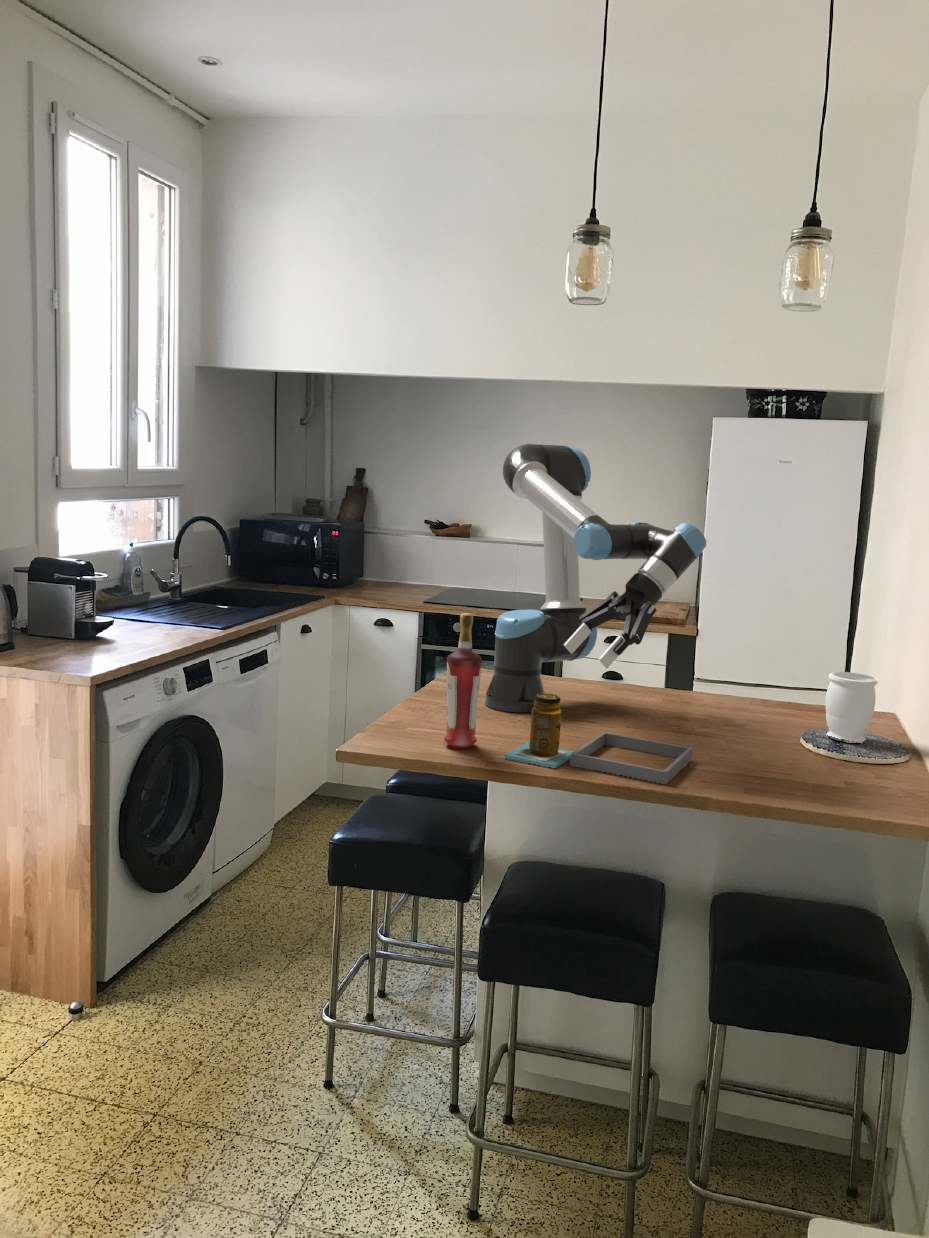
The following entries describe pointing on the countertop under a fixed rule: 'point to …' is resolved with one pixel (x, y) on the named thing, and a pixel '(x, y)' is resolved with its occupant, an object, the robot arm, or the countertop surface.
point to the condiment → (544, 728)
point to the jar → (850, 705)
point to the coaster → (549, 763)
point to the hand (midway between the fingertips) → (584, 656)
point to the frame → (645, 773)
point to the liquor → (463, 689)
